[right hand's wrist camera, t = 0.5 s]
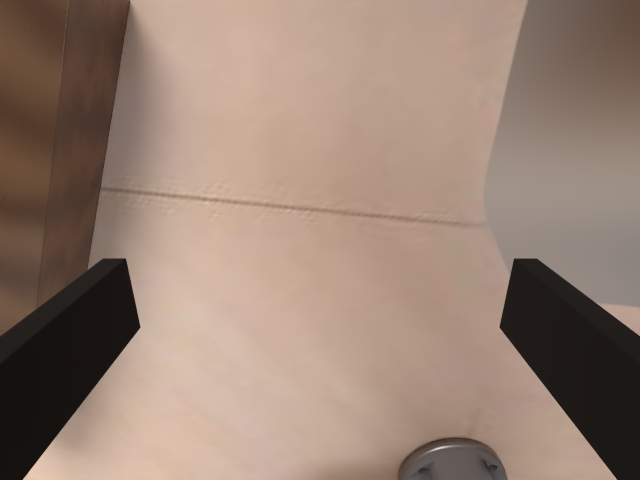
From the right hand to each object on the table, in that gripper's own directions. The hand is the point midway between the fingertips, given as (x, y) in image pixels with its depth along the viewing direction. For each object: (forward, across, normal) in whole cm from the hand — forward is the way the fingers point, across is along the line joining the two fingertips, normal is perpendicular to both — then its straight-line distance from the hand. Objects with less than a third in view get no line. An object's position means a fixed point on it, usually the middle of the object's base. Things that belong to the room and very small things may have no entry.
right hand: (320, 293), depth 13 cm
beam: (+27, +28, +9) cm, 40 cm away
